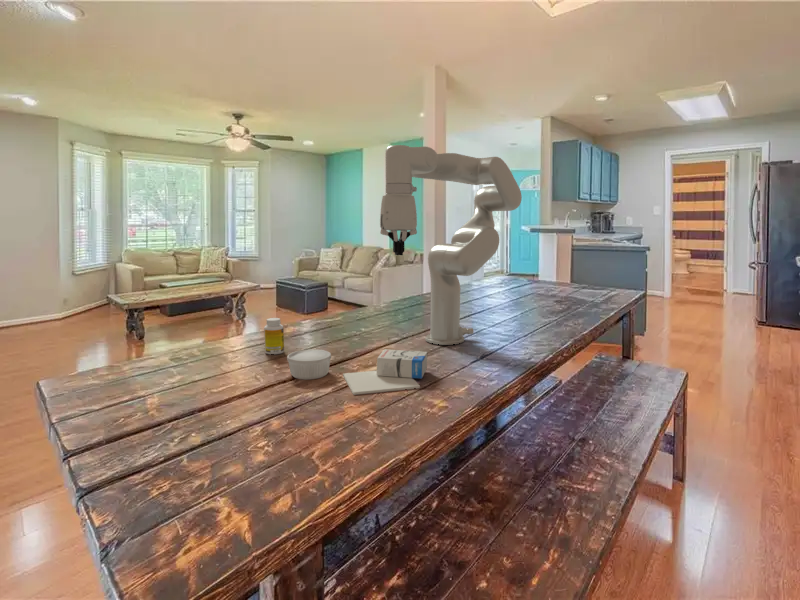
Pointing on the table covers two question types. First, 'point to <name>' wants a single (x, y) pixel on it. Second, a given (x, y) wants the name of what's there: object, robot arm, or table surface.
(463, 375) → the table surface
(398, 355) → the ink box
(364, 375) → the rubber mat
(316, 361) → the ramekin
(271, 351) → the supplement bottle
